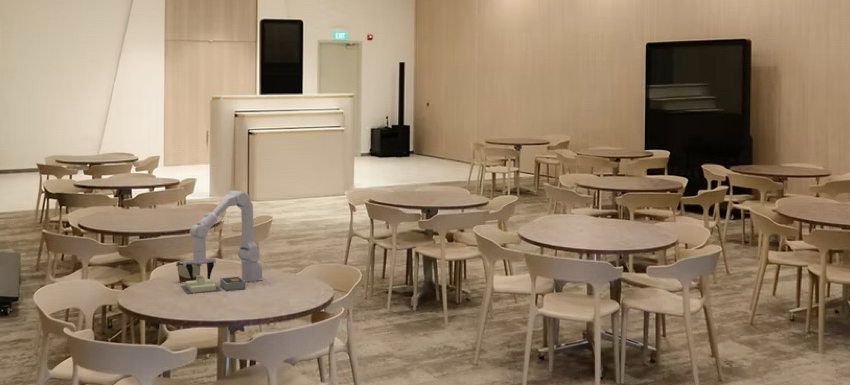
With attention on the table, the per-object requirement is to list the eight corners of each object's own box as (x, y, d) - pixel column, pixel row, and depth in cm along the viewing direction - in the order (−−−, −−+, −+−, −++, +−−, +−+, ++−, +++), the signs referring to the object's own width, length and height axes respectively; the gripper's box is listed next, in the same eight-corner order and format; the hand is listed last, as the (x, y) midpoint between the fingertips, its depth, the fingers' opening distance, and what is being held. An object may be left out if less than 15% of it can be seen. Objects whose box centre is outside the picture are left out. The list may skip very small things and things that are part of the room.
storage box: (239, 283, 440) (238, 276, 440) (245, 289, 429) (245, 281, 428) (220, 285, 437) (220, 278, 436) (226, 291, 425) (226, 283, 425)
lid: (209, 283, 439) (209, 272, 439) (215, 290, 426) (215, 278, 425) (185, 285, 435) (185, 274, 434) (191, 292, 421) (191, 281, 421)
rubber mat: (212, 283, 442) (212, 282, 442) (221, 290, 425) (221, 290, 425) (180, 286, 436) (180, 285, 436) (187, 294, 419) (187, 293, 419)
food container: (205, 280, 449) (205, 259, 448) (201, 282, 443) (200, 262, 442) (181, 279, 450) (180, 259, 449) (176, 282, 444) (175, 261, 443)
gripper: (184, 253, 422) (185, 282, 423) (216, 250, 428) (217, 279, 429) (182, 250, 428) (183, 279, 430) (213, 248, 434) (214, 276, 436)
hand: (200, 279), depth 430 cm, fingers open, 7 cm apart
